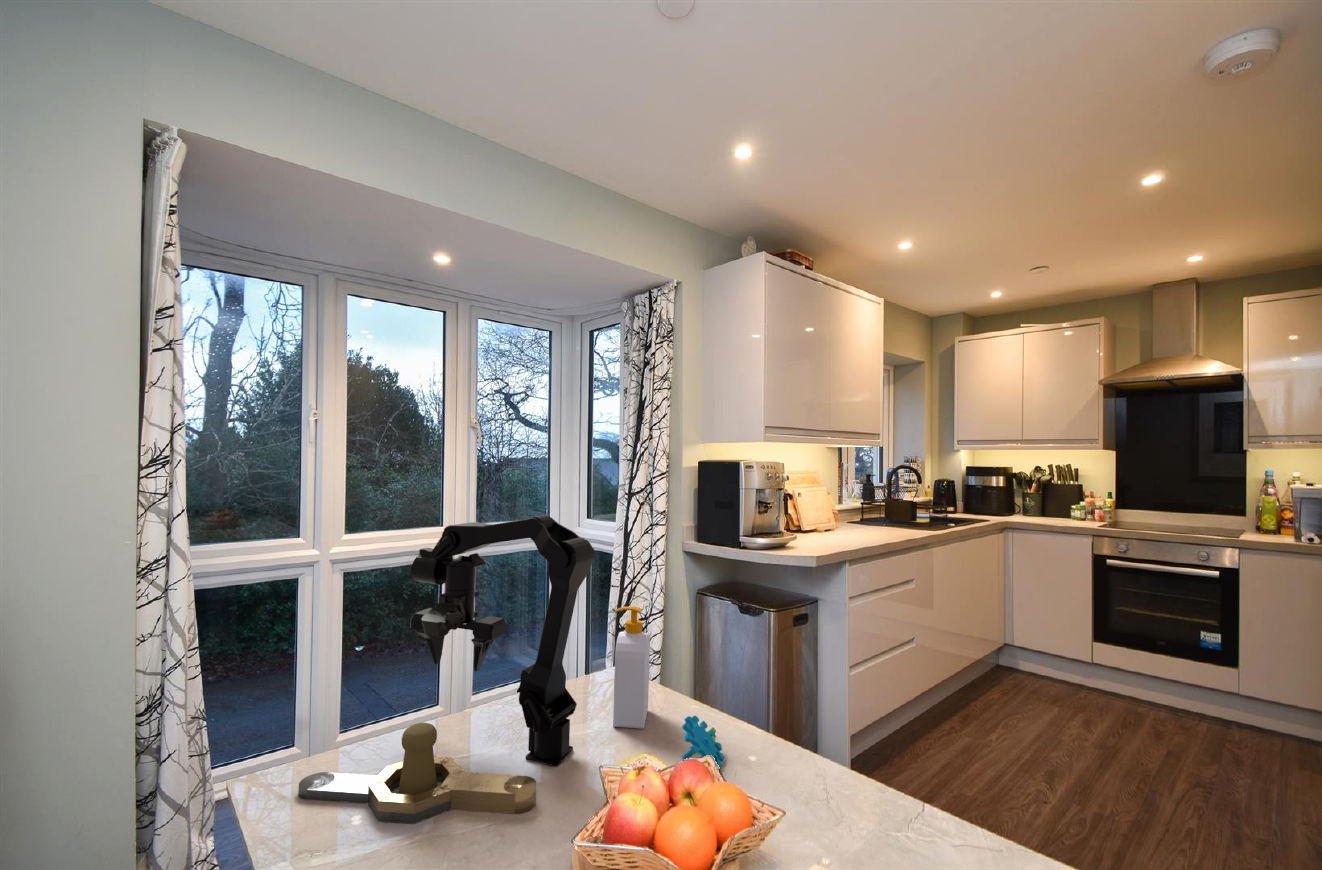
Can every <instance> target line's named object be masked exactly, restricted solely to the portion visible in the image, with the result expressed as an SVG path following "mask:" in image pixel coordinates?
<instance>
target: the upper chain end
mask: <svg viewBox="0 0 1322 870" xmlns="http://www.w3.org/2000/svg"><path fill="white" fill-rule="evenodd" d="M403 761H404V760H401V761H399V762H395V763H392V764H389V765H386V766H385V768H384V769H382V770H381V772H380V773H378V774H377V777H376V778H375V779H374V780H373V781H372V782H371V783H370V784H369V786H368V795H369V797H370V798H371V800H372V801H373V803H374V805H375V806H376V808H377V809H378V811H381V812H396V813H410V814H415V813H418V812H420V811H423V810H426V809H428V808H431V807H434V806H436V805H439V804H442V803H444V802H447V801H450V800H451V809H450V810H453V811H454V810H455V811H469V812H481V813H496V814H497V813H499V814H515V815H521V814H524V813H528V812H529V811H532V810H533V809H534V808H535V806H536V804H537V784H538V783H537V780H536V779H535V778H534V777H532V776H528V775H519V774H518V775H517V774H503V773H488V772H487V773H486V772H485V773H484V772H472V771H465V770H464V769H463V768H462V767H461V766H460V765H459V764H458V763H457V762H456V761H455V760H454V758H452V757H448V756H435V755H434V762H435V772H438V773H442V774H443V775H444V776H445V778H446V780H445V781H444V782H443V784H442V783H441V785H440V786H437V788H434V789H431V790H429V791H426V792H423V793H420V794H417V795H406V794H398V793H393V792H392V793H391V792H390V790H389V789H388V787H389V786H390V785H391V784H392V783H393V782H394V780H395V779H397V778H400V777H401V772H402V766H403Z"/></svg>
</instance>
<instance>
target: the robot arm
mask: <svg viewBox="0 0 1322 870" xmlns="http://www.w3.org/2000/svg"><path fill="white" fill-rule="evenodd" d="M525 539H530V540H532V541H533V542H534V545H535V547H536V548H537V551H538V552H539V554H540V555H541V556H542V557H543V558H544V559H545V560H546V561H547V575H548V578H549V582H550V586H551V588H550V594H549V598H548V603H547V608H546V612H545V616H544V621H543V627H542V631H541V636H540V639H539V640H540V641H539V646H538V650H537V653H536V660H535V661H534V663H533V664H532V665H529V666H528V667H526V668H525V669H522V671H521V673H520V679H519V686H518V688H517V690H516V693H519V694H518V703H519V705H520V706H521V710H522V713H523V717H524V721H525V725H526V728H527V729H528V747H527V748H528V753H527V754H526V755H525V760H526V761H531V762H535V763H540V764H545V765H549V766H552V767H557V766H559V765H560V764H561V763H562V762H563V761H564V760H565V759H566V758H567V757H568V756H569V755H570V754H571V753H572V752H573V750H574V747H573V746H571V745H570V727H571V719H570V718H569V717H570V716H572V715H573V714H574V713H575V711H576V708H577V706H578V705H577V702H576V701H575V699H574V697H573V696H572V695H571V694H570V692H569V691H568V689H567V688H566V684H567V683H566V682H567V675H566V671H565V668H564V665H563V661H564V656H565V652H566V648H567V643H568V637H569V633H570V627H571V623H572V619H573V616H574V615H573V614H574V611H575V604H576V601H577V595H578V591H579V589H580V587H581V586H582V584H583V582H584V580H585V579H586V577H587V576H588V574H589V572H590V569H591V566H592V564H593V562H594V559H595V549H594V547H593V546H592V544H591V542H590V541H589V540H588V539H585V538H584V537H580V536H579V535H578V534H577V533H576V532H574V531H573V530H571V529H569V528H568V527H565V526H563V525H562V524H560V523H559V522H557V520H555V519H554V518H553V517H551V516H549V515H548V514H542V515H541V514H540V515H535V516H530V517H529V518H525V519H519V520H518V519H517V520H513V521H506V522H499V523H493V524H491V523H484V522H475V521H474V522H464V523H458V524H452V525H450V524H449V525H447V526H446V527H445V528H444V529H443V531H442V534H441V537H440V538H439V540H438V542H436V544H435V546H434V547H433V548H432V547H425V548H420V549H419V553H418V555H417V556H416V557H415V558H414V560H413V562H412V565H411V566H410V575H411V576H410V577H411V579H413V580H414V581H415V582H419V583H425V584H433V585H439V586H440V585H444V593H441V594H439V597H438V604H437V605H436V606H434V607H428V608H424V609H423V610H420V611H416V612H415V613H413V615H412V616H411V618H410V625H409V628H410V629H412V630H415V633H416V634H419V635H421V636H422V637H424V639H425V641H426V643H427V645H428V648H429V650H430V654H431V657H432V660H433V663H434V665H438V664H440V662H441V659H442V656H443V655H442V654H443V647H444V642H445V637H446V636H447V635H448V634H449V633H450V631H451V630H453V631H456V630H457V629H461V630H469V631H472V635H473V636H474V638H472V639H471V642H472V643H473V645H474V653H473V654H474V655H473V657H474V658H473V671H474V672H478V671H479V670H480V668H481V666H482V665H483V662H484V660H485V658H486V656H487V654H488V652H489V650H490V648H491V646H492V644H494V641H495V639H497V638H499V637H500V636H502V635H504V634H505V633H507V631H508V630H507V629H508V623H507V620H506V619H505V618H504V617H500V616H499V617H497V616H492V615H491V616H490V615H489V616H486V617H484V618H482V619H479V620H477V619H475V618H477V617H479V611H478V610H475V600H476V597H479V594H480V591H479V590H476V575H477V568H478V567H481V566H485V565H486V561H485V560H484V559H483V558H482V557H480V554H479V553H477V552H476V553H471V554H469V555H463V554H466V553H470V552H474V551H477V550H480V549H482V548H485V547H488V546H489V545H491V544H498V543H504V542H512V541H518V540H525ZM454 556H455V557H454Z"/></svg>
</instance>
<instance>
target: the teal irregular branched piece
mask: <svg viewBox="0 0 1322 870" xmlns="http://www.w3.org/2000/svg"><path fill="white" fill-rule="evenodd" d="M699 722H700V718H699V717H698V716H697V715H693V716H690V715H688V716H687V717H685V718H684V723H683V724H682V726H681V728H682V729H683V731H685V732H686V733H684V735H683V738H684V741H685V742H686V743H690V744H692V746H691V747H690V748H689V749H688V751H686V752H685V753H684V754H682V759H683V760H684V759H686V758H689V757H690V758H692V757H693V756H695V755H696V754H700V755H701V757H704V756H706V755H712V756H713V757H714V758H715V761H716V762H717V764H718V765H719V767H720V769H722V768H723V767H724V765H723V763H722V762H723V761H725V759H726V758H725V755H723V753H721V752H722V750H723V746H722V744H721V743H720V742H718V741H716V738H717V735H716V733H717V731H716V729H715V727H711V728H710V729H709V730H708V731H707V730H706V729H707V728H708V726H709V725H708V724H707V722H706V721H705V720H702V721H701V722H700V723H699ZM690 758H689V759H690Z"/></svg>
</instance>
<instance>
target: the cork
mask: <svg viewBox="0 0 1322 870" xmlns="http://www.w3.org/2000/svg"><path fill="white" fill-rule="evenodd" d="M437 734H438V732H437V728H436V727H435V725H433V724H432V723H428V722H417V723H414V724H412V725H409V727H406V729H405V730H404V732H403V733H402V737H401V747H402V748H403V750H404V754H403V760H402V761H403V766H402V772H401V778H400V784H399V787H398V792H397V794H406V795H417V794H420V793H423V792H426V791H429V790H431V789H434V788H437V787H438V783H437V781H436V772H435V762H434V756H435V755H434V754H435V753H434V746H435V744H436V742H437V738H438V735H437Z"/></svg>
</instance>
